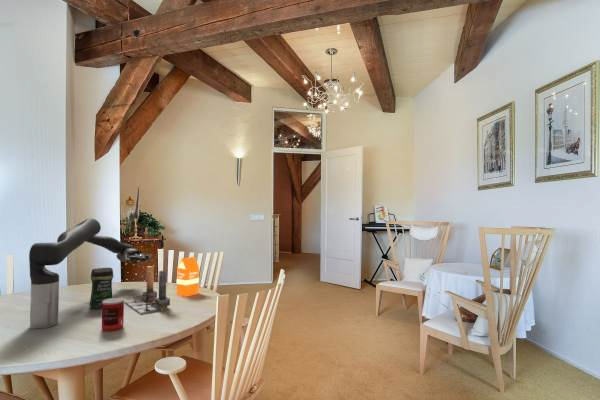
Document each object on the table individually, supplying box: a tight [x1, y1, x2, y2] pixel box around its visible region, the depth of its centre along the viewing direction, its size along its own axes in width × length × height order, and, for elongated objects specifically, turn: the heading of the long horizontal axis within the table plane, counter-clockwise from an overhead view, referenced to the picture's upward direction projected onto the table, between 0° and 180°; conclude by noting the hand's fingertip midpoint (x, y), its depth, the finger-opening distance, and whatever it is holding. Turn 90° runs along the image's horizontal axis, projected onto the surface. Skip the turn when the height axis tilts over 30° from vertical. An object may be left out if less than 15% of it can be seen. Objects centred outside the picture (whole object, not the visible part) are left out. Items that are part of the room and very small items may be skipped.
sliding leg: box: [133, 265, 158, 302], centre depth 173 cm, size 5×10×16 cm, turn 132°
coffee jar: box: [89, 267, 114, 310], centre depth 165 cm, size 10×8×19 cm
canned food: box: [101, 297, 125, 332], centre depth 136 cm, size 8×8×11 cm
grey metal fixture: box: [124, 270, 171, 315], centre depth 167 cm, size 25×13×18 cm, turn 42°
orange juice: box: [176, 256, 200, 297], centre depth 191 cm, size 8×9×20 cm
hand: (144, 259), depth 182 cm, fingers closed
